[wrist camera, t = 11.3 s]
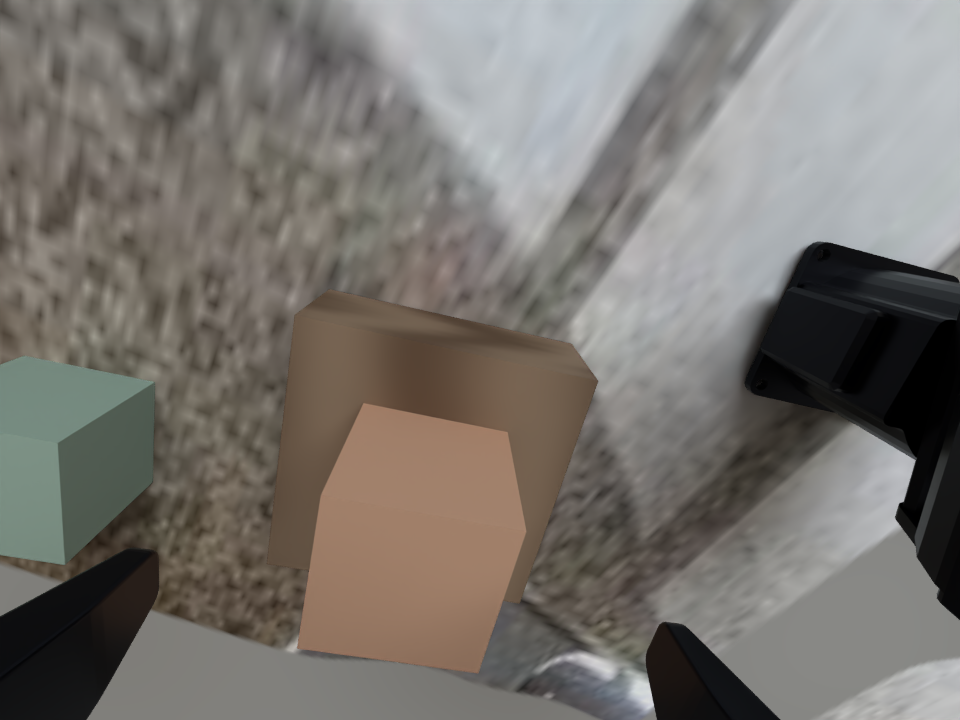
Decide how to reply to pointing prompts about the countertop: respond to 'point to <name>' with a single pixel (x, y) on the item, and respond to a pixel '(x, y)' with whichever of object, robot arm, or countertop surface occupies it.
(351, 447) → the terracotta cube
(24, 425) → the sage green cube
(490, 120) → the countertop surface
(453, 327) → the walnut block
